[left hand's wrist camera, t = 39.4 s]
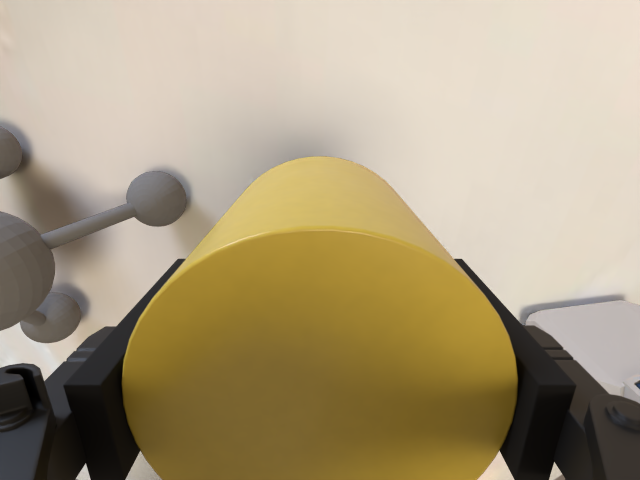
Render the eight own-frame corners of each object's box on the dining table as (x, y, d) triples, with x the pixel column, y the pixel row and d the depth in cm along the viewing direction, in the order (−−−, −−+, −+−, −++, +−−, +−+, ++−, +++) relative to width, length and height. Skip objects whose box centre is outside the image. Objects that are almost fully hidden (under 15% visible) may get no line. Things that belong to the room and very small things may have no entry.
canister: (415, 148, 16) (544, 209, 7) (413, 325, 19) (500, 534, 10) (210, 164, 16) (66, 244, 7) (240, 337, 19) (167, 551, 10)
